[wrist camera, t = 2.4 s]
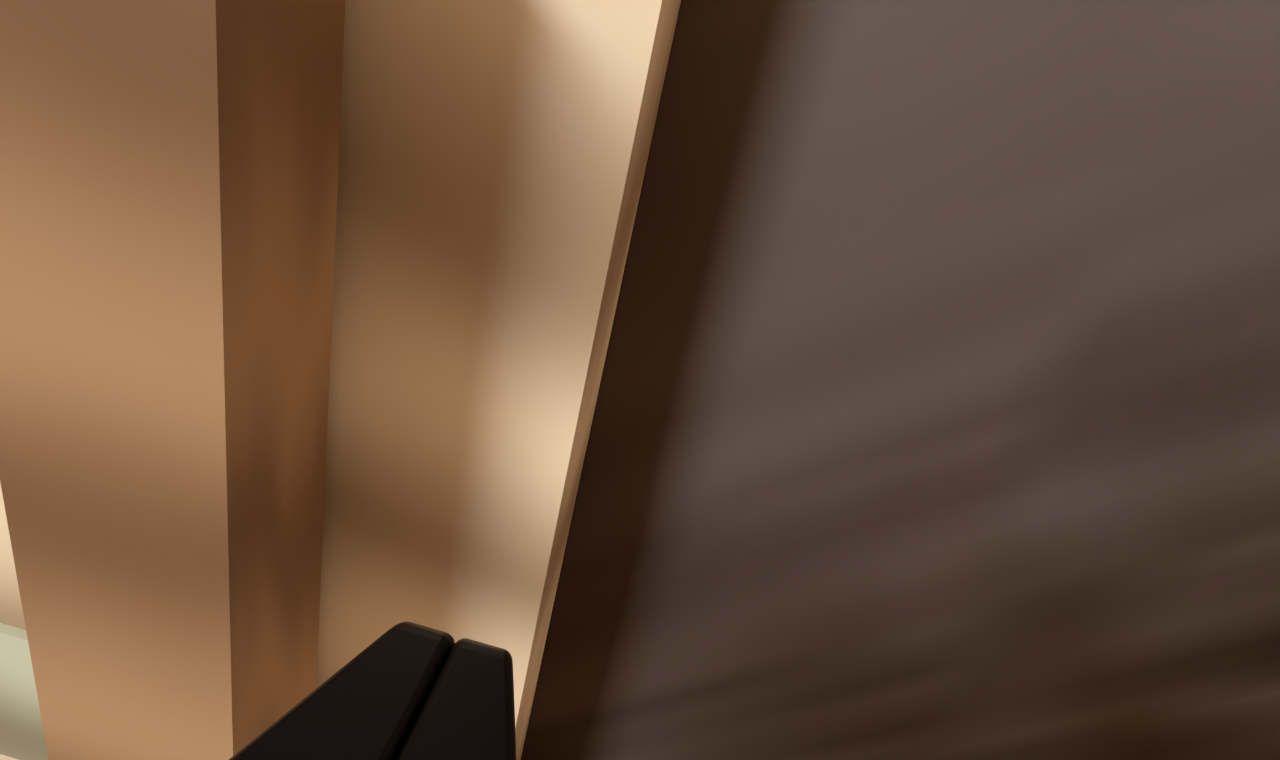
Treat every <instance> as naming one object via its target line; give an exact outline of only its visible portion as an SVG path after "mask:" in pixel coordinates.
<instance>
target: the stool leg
mask: <svg viewBox="0 0 1280 760" xmlns="http://www.w3.org/2000/svg"><path fill="white" fill-rule="evenodd" d="M345 1H346V0H0V483H1V488H2V494H3V500H4V506H5V511H6V517H7V523H8V529H9V535H10V540H11V546H12V552H13V558H14V563H15V569H16V575H17V581H18V586H19V592H20V598H21V604H22V609H23V615H24V621H25V627H26V632H27V638H28V644H29V650H30V655H31V661H32V667H33V673H34V678H35V684H36V690H37V696H38V701H39V707H40V713H41V719H42V724H43V730H44V736H45V742H46V747H47V753H48V759H49V760H229V759H230V758H231V757H233V756H234V755H235V754H236V753H237V752H239V751H240V750H241V749H242V748H244V747H245V746H246V745H247V744H249V743H250V742H251V741H252V740H253V739H255V738H256V737H257V736H258V735H260V734H261V733H262V732H263V731H265V730H266V729H267V728H268V727H270V726H271V725H272V724H273V723H274V722H276V721H277V720H278V719H279V718H281V717H282V716H283V715H284V714H286V713H287V712H288V711H289V710H290V709H292V708H293V707H294V706H295V705H297V704H298V703H299V702H300V701H302V700H303V699H304V698H305V697H306V696H308V695H309V694H310V693H311V692H313V691H314V690H315V689H316V687H317V663H318V640H319V616H320V592H321V569H322V545H323V521H324V498H325V474H326V450H327V427H328V403H329V379H330V356H331V332H332V308H333V285H334V261H335V237H336V214H337V190H338V166H339V143H340V119H341V95H342V72H343V48H344V24H345Z"/></svg>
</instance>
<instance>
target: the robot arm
mask: <svg viewBox="0 0 1280 760" xmlns="http://www.w3.org/2000/svg"><path fill="white" fill-rule="evenodd" d="M229 760H516V733H515V707H514V681H513V661H512V656H511V654H510V653H509V652H508V651H507V650H505V649H503V648H499V647H496V646H492V645H489V644H485V643H482V642H478V641H475V640H471V639H467V638H463V639H460V640H458V641H457V642H456V643H455V641H454V638H453V637H452V636H451V635H450V634H448V633H447V632H444V631H440V630H437V629H433V628H430V627H426V626H423V625H419V624H416V623H412V622H402V623H398V624H396V625H395V626H393V627H392V628H390V629H389V630H388V631H387V632H385V633H384V634H383V635H382V636H380V637H379V638H378V639H377V640H375V641H374V642H373V643H372V644H371V645H369V646H368V647H367V648H366V649H364V650H363V651H362V652H361V653H359V654H358V655H357V656H356V657H355V658H353V659H352V660H351V661H350V662H348V663H347V664H346V665H345V666H343V667H342V668H341V669H340V670H339V671H337V672H336V673H335V674H334V675H332V676H331V677H330V678H329V679H327V680H326V681H325V682H324V683H323V684H321V685H320V686H319V687H318V688H316V689H315V690H314V691H313V692H311V693H310V694H309V695H308V696H306V697H305V698H304V699H303V700H302V701H300V702H299V703H298V704H297V705H295V706H294V707H293V708H292V709H290V710H289V711H288V712H287V713H286V714H284V715H283V716H282V717H281V718H279V719H278V720H277V721H276V722H274V723H273V724H272V725H271V726H270V727H268V728H267V729H266V730H265V731H263V732H262V733H261V734H260V735H258V736H257V737H256V738H255V739H253V740H252V741H251V742H250V743H249V744H247V745H246V746H245V747H244V748H242V749H241V750H240V751H239V752H237V753H236V754H235V755H234V756H233V757H231V758H230V759H229Z"/></svg>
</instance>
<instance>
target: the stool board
mask: <svg viewBox="0 0 1280 760" xmlns="http://www.w3.org/2000/svg"><path fill="white" fill-rule="evenodd" d="M680 4H681V0H346V1H345V24H344V48H343V72H342V95H341V119H340V143H339V166H338V190H337V214H336V237H335V261H334V285H333V308H332V332H331V356H330V379H329V403H328V427H327V450H326V474H325V498H324V521H323V545H322V569H321V592H320V616H319V640H318V663H317V687H316V688H318V687H319V686H320V685H321V684H323V683H324V682H325V681H326V680H327V679H329V678H330V677H331V676H332V675H334V674H335V673H336V672H337V671H339V670H340V669H341V668H342V667H343V666H345V665H346V664H347V663H348V662H350V661H351V660H352V659H353V658H355V657H356V656H357V655H358V654H359V653H361V652H362V651H363V650H364V649H366V648H367V647H368V646H369V645H371V644H372V643H373V642H374V641H375V640H377V639H378V638H379V637H380V636H382V635H383V634H384V633H385V632H387V631H388V630H389V629H390V628H392V627H393V626H395V625H396V624H398V623H402V622H412V623H416V624H419V625H423V626H426V627H430V628H433V629H437V630H440V631H444V632H447V633H448V634H450V635H451V636H452V637H453V638H454V641H455V643H456V642H457V641H458V640H460V639H463V638H467V639H471V640H475V641H478V642H482V643H485V644H489V645H492V646H496V647H499V648H503V649H505V650H507V651H508V652H509V653H510V654H511V656H512V661H513V681H514V707H515V733H516V760H521V756H522V751H523V746H524V742H525V737H526V732H527V728H528V723H529V718H530V713H531V709H532V704H533V699H534V694H535V690H536V685H537V680H538V675H539V671H540V666H541V661H542V657H543V652H544V647H545V642H546V638H547V633H548V628H549V623H550V619H551V614H552V609H553V605H554V600H555V595H556V590H557V586H558V581H559V576H560V571H561V567H562V562H563V557H564V552H565V548H566V543H567V538H568V534H569V529H570V524H571V519H572V515H573V510H574V505H575V500H576V496H577V491H578V486H579V481H580V477H581V472H582V467H583V463H584V458H585V453H586V448H587V444H588V439H589V434H590V429H591V425H592V420H593V415H594V410H595V406H596V401H597V396H598V392H599V387H600V382H601V377H602V373H603V368H604V363H605V358H606V354H607V349H608V344H609V340H610V335H611V330H612V325H613V321H614V316H615V311H616V306H617V302H618V297H619V292H620V287H621V283H622V278H623V273H624V269H625V264H626V259H627V254H628V250H629V245H630V240H631V235H632V231H633V226H634V221H635V216H636V212H637V207H638V202H639V198H640V193H641V188H642V183H643V179H644V174H645V169H646V164H647V160H648V155H649V150H650V145H651V141H652V136H653V131H654V127H655V122H656V117H657V112H658V108H659V103H660V98H661V93H662V89H663V84H664V79H665V74H666V70H667V65H668V60H669V56H670V51H671V46H672V41H673V37H674V32H675V27H676V22H677V18H678V13H679V8H680ZM0 760H49V759H48V753H47V747H46V742H45V736H44V730H43V724H42V719H41V713H40V707H39V701H38V696H37V690H36V684H35V678H34V673H33V667H32V661H31V655H30V650H29V644H28V638H27V632H26V627H25V621H24V615H23V609H22V604H21V598H20V592H19V586H18V581H17V575H16V569H15V563H14V558H13V552H12V546H11V540H10V535H9V529H8V523H7V517H6V511H5V506H4V500H3V494H2V488H1V483H0Z"/></svg>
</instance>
